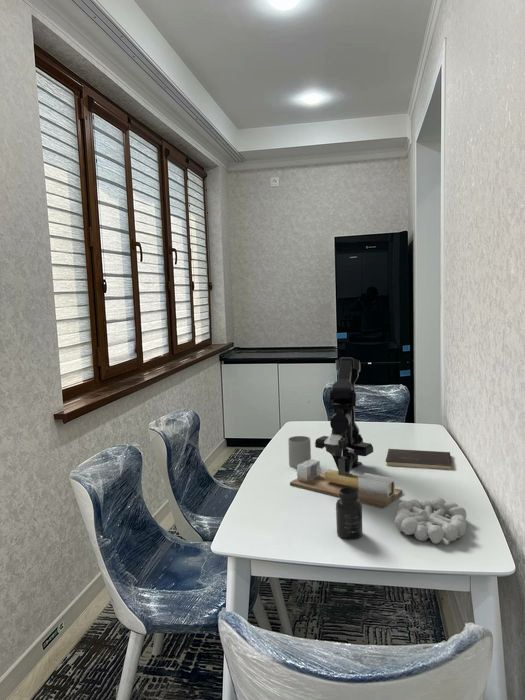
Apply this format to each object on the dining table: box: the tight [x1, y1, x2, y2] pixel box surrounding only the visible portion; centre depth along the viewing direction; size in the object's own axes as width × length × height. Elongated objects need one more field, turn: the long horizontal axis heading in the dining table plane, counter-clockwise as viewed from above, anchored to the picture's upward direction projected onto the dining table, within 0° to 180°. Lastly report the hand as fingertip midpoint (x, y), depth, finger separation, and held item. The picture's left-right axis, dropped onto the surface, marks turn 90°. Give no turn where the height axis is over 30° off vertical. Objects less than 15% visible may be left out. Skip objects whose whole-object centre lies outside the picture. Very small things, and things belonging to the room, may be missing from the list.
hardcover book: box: [385, 448, 453, 470], centre depth 191 cm, size 16×23×2 cm
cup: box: [287, 435, 312, 469], centre depth 191 cm, size 8×8×10 cm
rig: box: [296, 458, 396, 500], centre depth 166 cm, size 8×32×5 cm, turn 51°
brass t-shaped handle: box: [324, 456, 392, 494], centre depth 162 cm, size 3×22×8 cm, turn 51°
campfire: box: [393, 496, 468, 545], centre depth 137 cm, size 22×21×6 cm
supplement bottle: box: [335, 488, 363, 541], centre depth 134 cm, size 7×7×12 cm
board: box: [289, 471, 403, 509], centre depth 166 cm, size 14×34×1 cm, turn 51°
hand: (344, 471), depth 165 cm, fingers open, 3 cm apart
